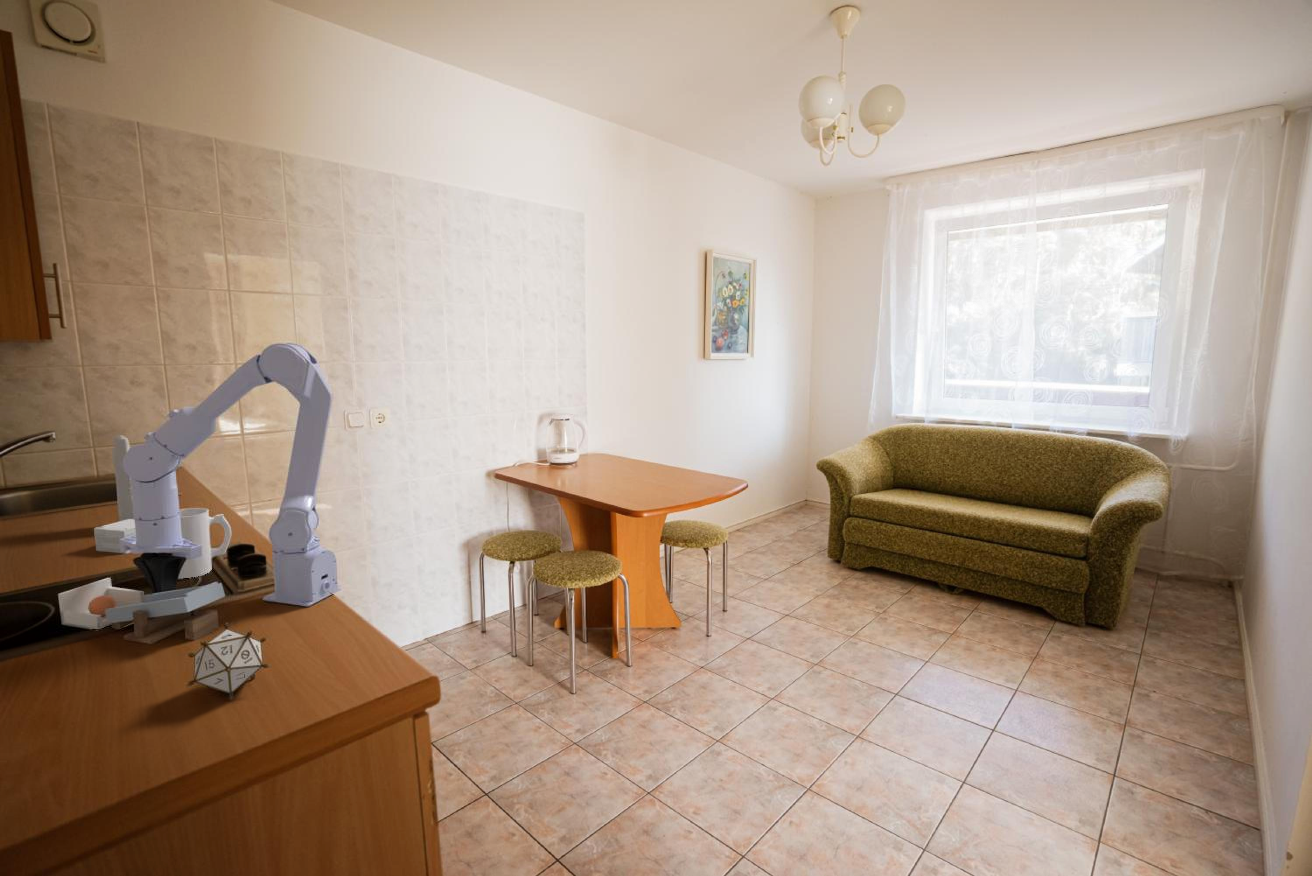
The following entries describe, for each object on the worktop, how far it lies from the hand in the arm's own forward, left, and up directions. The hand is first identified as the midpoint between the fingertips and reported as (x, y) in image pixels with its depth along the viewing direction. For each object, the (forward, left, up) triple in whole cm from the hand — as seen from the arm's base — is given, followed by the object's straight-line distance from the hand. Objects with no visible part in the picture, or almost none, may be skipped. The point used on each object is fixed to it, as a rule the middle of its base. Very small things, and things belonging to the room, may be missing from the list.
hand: (164, 595), depth 100 cm
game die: (-31, +16, -3) cm, 35 cm away
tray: (+6, +5, -2) cm, 8 cm away
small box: (+38, -22, -3) cm, 44 cm away
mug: (+10, -15, -3) cm, 18 cm away
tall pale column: (+51, -32, -3) cm, 60 cm away
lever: (-7, +3, +1) cm, 8 cm away
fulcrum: (-7, +5, -2) cm, 9 cm away
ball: (+5, +5, -1) cm, 7 cm away
